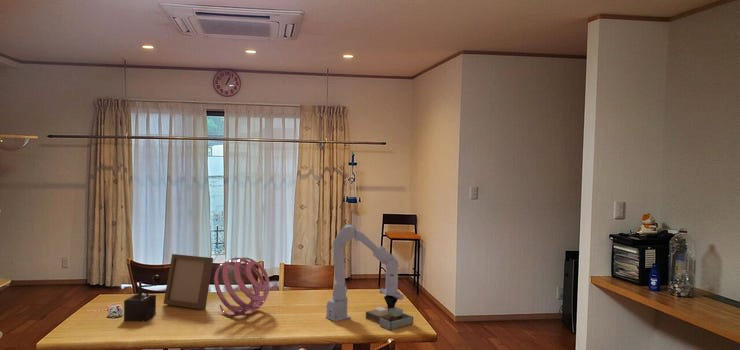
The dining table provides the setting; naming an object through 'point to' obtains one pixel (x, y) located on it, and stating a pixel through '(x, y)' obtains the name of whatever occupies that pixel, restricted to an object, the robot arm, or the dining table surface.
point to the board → (375, 318)
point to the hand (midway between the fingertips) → (390, 311)
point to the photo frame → (188, 281)
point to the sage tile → (396, 311)
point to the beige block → (380, 311)
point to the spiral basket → (243, 286)
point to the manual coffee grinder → (141, 304)
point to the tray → (397, 322)
